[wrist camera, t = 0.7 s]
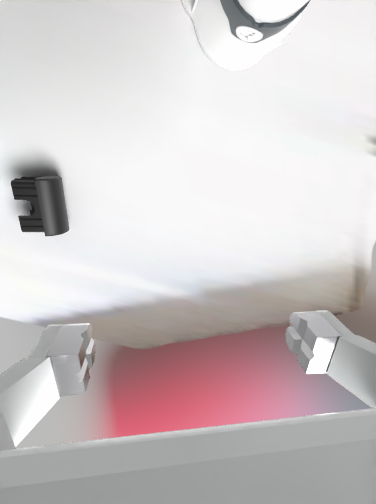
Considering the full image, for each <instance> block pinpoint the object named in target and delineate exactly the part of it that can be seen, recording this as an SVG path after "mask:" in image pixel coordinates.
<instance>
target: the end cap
mask: <svg viewBox="0 0 376 504" xmlns="http://www.w3.org/2000/svg"><path fill="white" fill-rule="evenodd" d="M11 186H12V191H13V195H14V199H15V200H28V201H30V202H31V205H32V210H30V214H31V215H30V216H18V217H19V221H20V225H21V230H22V232H45V236H54V235H60V234H63V233H65V232H67V231H68V230H69V224H68V218H67V211H66V205H65V198H64V192H63V185H62V178H61V177H60V176H54V175H47V176H43V177H21V178H20V179H14V180H12V181H11Z"/></svg>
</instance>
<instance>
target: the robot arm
mask: <svg viewBox="0 0 376 504" xmlns="http://www.w3.org/2000/svg"><path fill="white" fill-rule="evenodd" d="M309 1H310V0H182V4H183V6H184V8H185V10H186V11H187V13H188V14H189V16H190V17H191V19H192V21H193V23H194V26H195V30H196V34H197V37H198V40H199V43H200V45H201V47H202V49H203V50H204V52H205V54H206V55H207V56H208V57H209V58H210V59H211V60H212V61H213V62H214V63H215V64H217V65H218V66H220V67H222V68H224V69H227V70H235V71H237V70H243V69H247V68H249V67H251V66H253V65H255V64H256V63H257V62H259V61H260V60H261V59H262V58H263V57H264V56H265V55H266V54H267V53H268V52H269V51H270V50H273V49H275V48H278V47H280V46H282V45H283V44H284V43H285V42H286V41H287V40H288V38H289V36H290V30H291V29H292V27H293V26H294V25H295V24H296V23H297V22H298V21H299V19H300V17H301V13H302V11H303V10H304V9H305V7H306V6H307V4H308V3H309ZM289 321H290V323H291V325H290V326H289V327H288V328H287V331H286V342H287V345H288V347H289V349H290V350H291V352H293V353H294V354H296V355H297V356H298V358H297V361H298V362H299V364H300V365H301V367H302V368H303V370H304V371H305V373H306V374H313V373H327V375H329V376H330V377H332V378H333V379H334V380H335V381H337V382H338V383H339V384H341V385H342V386H343V387H345V388H346V389H348V390H349V391H350V392H352V393H353V394H354V395H356V396H357V397H359V398H360V399H361V400H362V401H364V402H365V403H366V404H368V405H369V406H371V407H372V408H371V409H363V410H355V411H345V412H336V413H328V414H319V415H310V416H302V417H292V418H284V419H275V420H266V421H257V422H249V423H240V424H231V425H222V426H214V427H204V428H195V429H187V430H178V431H169V432H160V433H152V434H143V435H134V436H125V437H116V438H108V439H99V440H91V441H82V442H72V443H64V444H55V445H46V446H37V447H28V448H20V449H16V446H17V445H18V444H19V443H20V442H21V440H22V439H23V438H24V437H25V436H26V435H27V434H28V433H29V432H30V430H31V429H32V428H33V427H34V426H35V425H36V424H37V423H38V422H39V420H40V419H41V418H42V417H43V416H44V415H45V414H46V413H47V412H48V410H49V409H50V408H51V407H52V406H53V405H54V404H55V403H56V402H57V400H58V399H59V397H61V396H69V395H78V394H85V393H86V389H87V386H88V382H89V379H90V374H89V370H90V369H91V368H92V367H93V364H94V358H95V341H94V340H93V339H92V338H91V337H92V334H93V328H92V324H91V323H84V324H58V325H48V326H47V327H46V328H45V330H44V331H43V333H42V335H41V336H40V338H39V340H38V341H37V343H36V345H35V347H34V348H33V350H32V352H31V353H30V355H29V357H28V358H26V359H22V360H20V361H19V362H17V363H16V364H14V365H13V366H12V367H10V368H9V369H7V370H6V371H4V372H3V373H1V374H0V504H376V343H374V342H372V341H369V340H367V339H365V338H363V337H361V336H355V335H354V334H353V333H352V332H350V330H348V329H347V328H346V327H345V326H344V325H343V324H342V323H341V322H340V321H339V320H338V319H337V318H336V317H335V316H334V315H333V314H332V313H330V312H329V311H327V310H321V311H312V312H295V313H292V314H291V315H290V318H289Z"/></svg>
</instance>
